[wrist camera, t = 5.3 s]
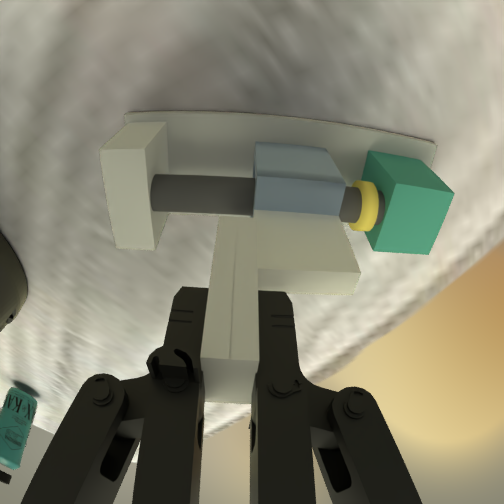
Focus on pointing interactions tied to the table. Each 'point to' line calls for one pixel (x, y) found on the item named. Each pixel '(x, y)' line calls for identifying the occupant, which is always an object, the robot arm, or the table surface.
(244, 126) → the slider rail
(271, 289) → the pale blue hollow box
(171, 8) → the table surface
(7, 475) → the beverage bottle
